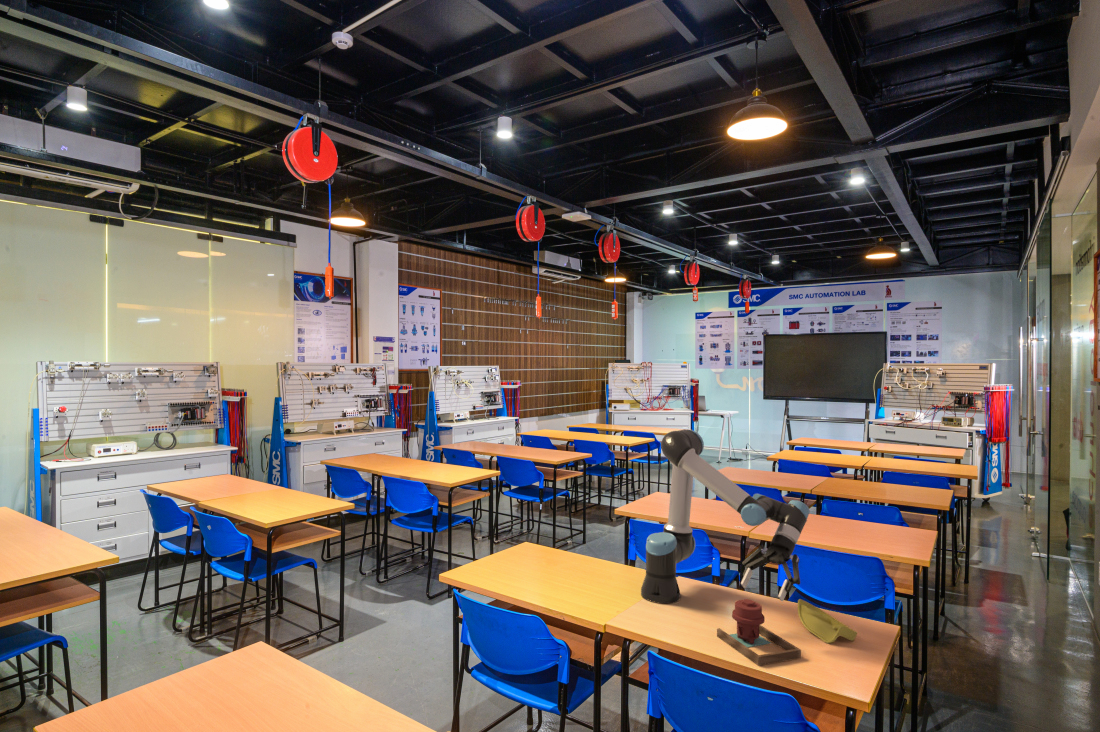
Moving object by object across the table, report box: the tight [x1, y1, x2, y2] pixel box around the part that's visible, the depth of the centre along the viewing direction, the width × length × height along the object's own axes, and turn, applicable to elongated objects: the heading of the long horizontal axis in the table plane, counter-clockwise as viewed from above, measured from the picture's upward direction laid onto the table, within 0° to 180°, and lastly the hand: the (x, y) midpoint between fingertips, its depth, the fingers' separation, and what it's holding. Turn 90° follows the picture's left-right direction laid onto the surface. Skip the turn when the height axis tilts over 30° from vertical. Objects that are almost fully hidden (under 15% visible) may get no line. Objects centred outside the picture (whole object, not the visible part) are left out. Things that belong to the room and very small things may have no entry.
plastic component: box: [797, 598, 858, 644], centre depth 190 cm, size 20×7×10 cm
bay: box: [716, 624, 802, 667], centre depth 177 cm, size 20×16×2 cm
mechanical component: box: [731, 598, 766, 644], centre depth 181 cm, size 12×10×10 cm
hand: (761, 592), depth 186 cm, fingers open, 13 cm apart
